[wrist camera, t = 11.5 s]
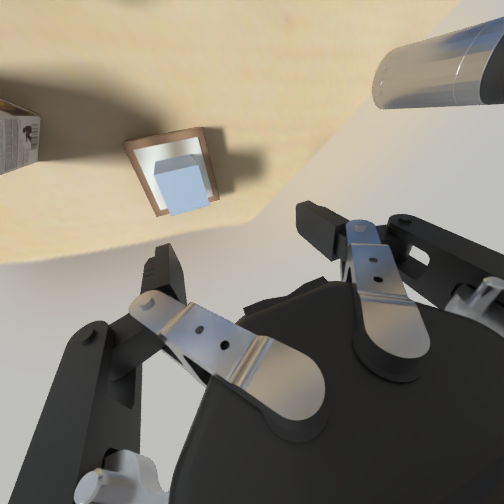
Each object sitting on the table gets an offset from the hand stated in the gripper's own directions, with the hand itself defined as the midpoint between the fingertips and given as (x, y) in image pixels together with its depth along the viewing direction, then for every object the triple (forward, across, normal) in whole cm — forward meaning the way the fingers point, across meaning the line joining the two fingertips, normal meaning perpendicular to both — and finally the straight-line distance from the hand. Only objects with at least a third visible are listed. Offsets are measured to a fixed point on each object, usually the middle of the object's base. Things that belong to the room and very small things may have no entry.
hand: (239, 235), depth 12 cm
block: (+24, +3, +1) cm, 24 cm away
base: (+28, +3, +1) cm, 28 cm away
